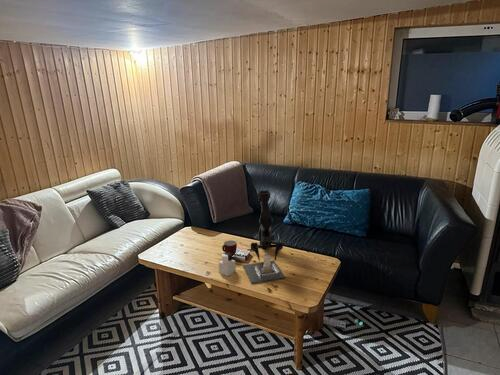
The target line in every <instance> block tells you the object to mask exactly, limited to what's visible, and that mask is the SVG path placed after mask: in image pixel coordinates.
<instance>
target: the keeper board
mask: <svg viewBox="0 0 500 375" xmlns="http://www.w3.org/2000/svg"><path fill="white" fill-rule="evenodd" d="M242 267H243V270H244V272H245V274H246V275H247V276H246V277H247V278H248V279H249V283H250V284H251V285H255V284H260V283H266V282H274V281H278V280H279V281H280V280H286V278H287V277H286V275H285V273H284V272H283V271H282V270H281V268H280V267H279V266H278V264H277V263H276V262H275V260H271V267H272V268H273V273H268V274H264V273H262V272H261V269H262V268H263V267H264V261H261V262H260V261H259V262H255V263H247V264H242Z"/></svg>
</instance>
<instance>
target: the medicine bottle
mask: <svg viewBox="0 0 500 375" xmlns="http://www.w3.org/2000/svg"><path fill="white" fill-rule="evenodd" d="M236 266H237V265H236V260H235V259H233V258H232V254H231V253H229V252H223V253H222V254H221V260H220V261H219V262H218V273H219V274H222V275H223V276H226V277H230V276H231V275H232V274H234V273H236V272H237V271H236Z"/></svg>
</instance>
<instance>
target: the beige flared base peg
mask: <svg viewBox="0 0 500 375" xmlns="http://www.w3.org/2000/svg"><path fill="white" fill-rule="evenodd" d="M271 258H272V257H271V254H269V253H265V254H263V262H264V267H263V268H262V269H261V272H262V273H264V274H268V273H273V268H272V267H271V261H272V260H271Z"/></svg>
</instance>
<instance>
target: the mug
mask: <svg viewBox="0 0 500 375" xmlns="http://www.w3.org/2000/svg"><path fill="white" fill-rule="evenodd" d="M237 243H238V242H237V241H236V240H232V239H231V240H225V241H224V242H223V245H222V246H221V247H222V248H221V249H222V251H223V253H225V252H229V253H231V254H232V256H233V255H234V254H235V253H236V254H237V248H238V244H237ZM236 254H235V255H236Z"/></svg>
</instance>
